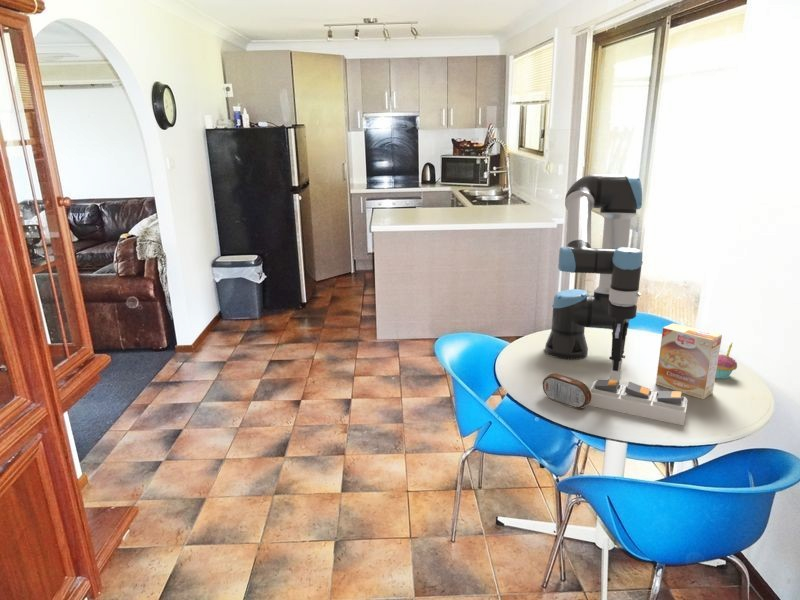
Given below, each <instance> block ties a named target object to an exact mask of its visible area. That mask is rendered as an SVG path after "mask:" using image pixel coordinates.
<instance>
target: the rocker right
mask: <svg viewBox="0 0 800 600" xmlns="http://www.w3.org/2000/svg"><path fill="white" fill-rule="evenodd" d="M657 392H658V396H657V401H659V402H664V403H674V404H681V403H682V396H683V393H682V391H676V390H658V391H657Z"/></svg>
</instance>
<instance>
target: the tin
mask: <svg viewBox="0 0 800 600" xmlns="http://www.w3.org/2000/svg"><path fill="white" fill-rule="evenodd" d="M542 390H543V393H544V394H545V396H546V397H547V398H548V399H549V400H552V401H554V402H557V403H559V404H563V405H565V406H567V407H570V408H573V409H576V410H579V409H582V408H585V407H586V406H589V405H588V404H589V403H590V401H591V392H590V388H589V386H587V384H585V382H583V381H581V380H578V379H575V378H572V377H570V376H566V375H563V374H561V373H557V372H552V373H550V374H548V375H547V376H545V377H544V379H543V381H542Z"/></svg>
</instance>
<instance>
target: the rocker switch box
mask: <svg viewBox="0 0 800 600" xmlns="http://www.w3.org/2000/svg"><path fill="white" fill-rule="evenodd" d="M597 380H598V379H594V381H593V382H592V385H591V387H590V388H589V390H590V392H591V401H590V403H589V404H588V405H587V406H589V407H595V408H598V409H599V408H600V409H604V410H608V411H613V412H618V413H624V414H628V415H632V416H637V417H642V418H647V419H651V420H656V421H661V422H666V423H670V424H675V425H680V426H685V419H686V413H687V407H688V398H687V397H686V396H683V395H682V403H681V404H674V403H664V402H659V401H657V396H658V392H659V391H655V390H651V389H650V392H649V395H648V398H647V399H644V398H639V397H635V396H632V395H630V394H627V393H625V391H626V389H627V386H628V385H623V384H619V387H618V389H617V391H603V390H598V389H595V384H596V382H597ZM654 391H655V392H654Z"/></svg>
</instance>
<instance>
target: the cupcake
mask: <svg viewBox="0 0 800 600" xmlns="http://www.w3.org/2000/svg"><path fill="white" fill-rule="evenodd" d="M732 347H733V342H731V343H730V344H729V347H728V350H727V352H726V355H725V354H719V357H718V363H717V369H716V376H715V379H720V380H725V379H726V378H727V379H729V377H730V375H731V374H732V372H733V371H734V370H737V368H738V363H737V361H736V359H734V358H733V357H731V356H729V355H730V352H731V349H732Z"/></svg>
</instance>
